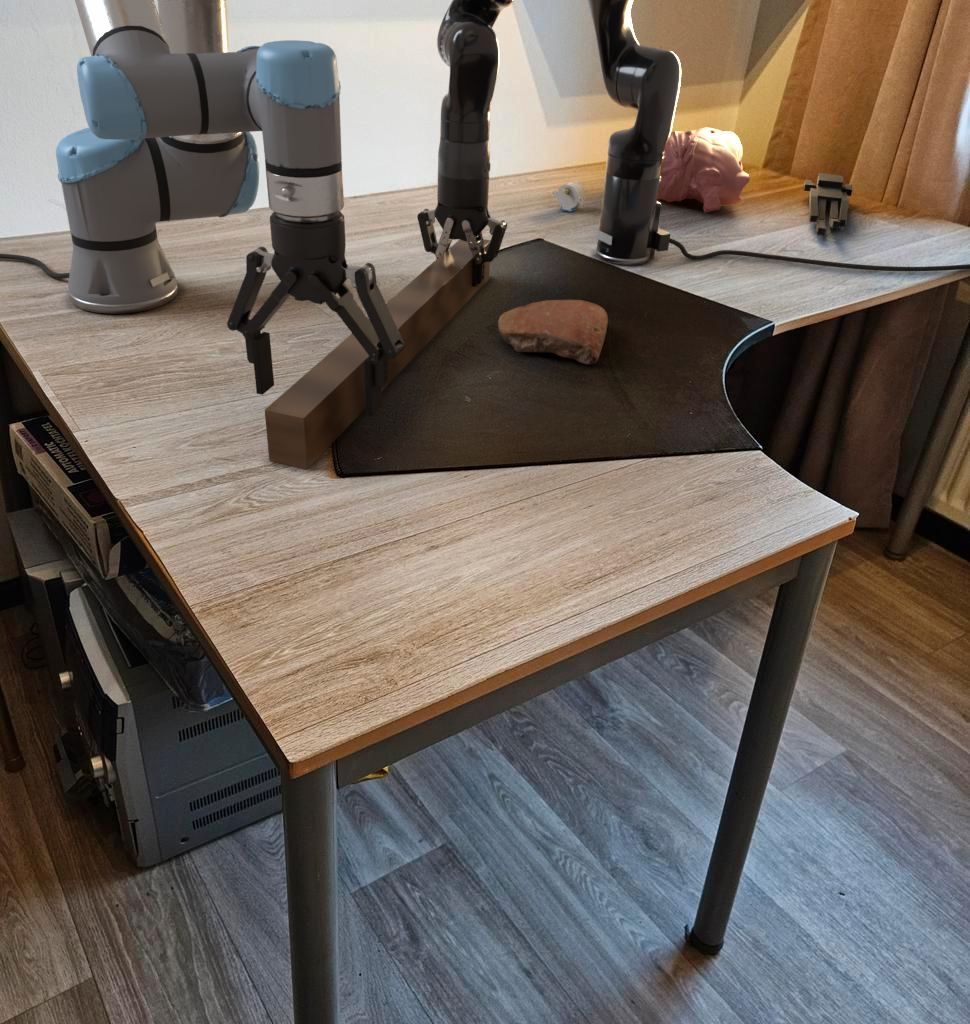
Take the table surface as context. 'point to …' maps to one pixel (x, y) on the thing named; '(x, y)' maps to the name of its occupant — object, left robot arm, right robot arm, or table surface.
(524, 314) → the ceramic shard
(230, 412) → the table surface
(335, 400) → the bar
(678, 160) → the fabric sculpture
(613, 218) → the right robot arm
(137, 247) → the left robot arm
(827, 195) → the toy
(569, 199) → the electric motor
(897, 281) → the table surface
